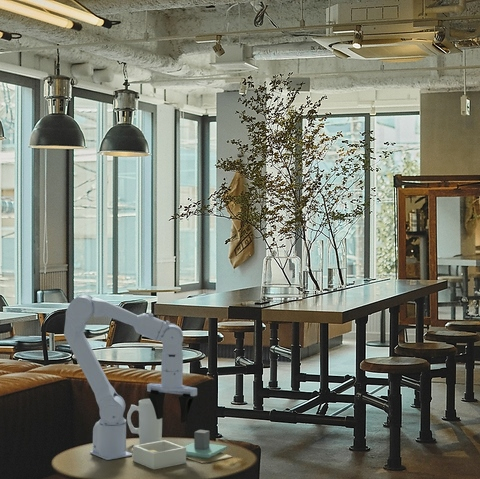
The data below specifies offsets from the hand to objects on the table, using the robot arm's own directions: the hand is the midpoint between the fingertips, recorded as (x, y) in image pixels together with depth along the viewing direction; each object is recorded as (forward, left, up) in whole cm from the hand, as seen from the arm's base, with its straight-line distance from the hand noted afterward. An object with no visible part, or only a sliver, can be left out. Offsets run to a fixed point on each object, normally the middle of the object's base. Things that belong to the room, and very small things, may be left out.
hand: (171, 420), depth 245 cm
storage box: (+4, -6, -9) cm, 12 cm away
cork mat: (+5, +6, -9) cm, 12 cm away
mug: (-15, +1, -10) cm, 18 cm away
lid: (+5, +6, -9) cm, 12 cm away
